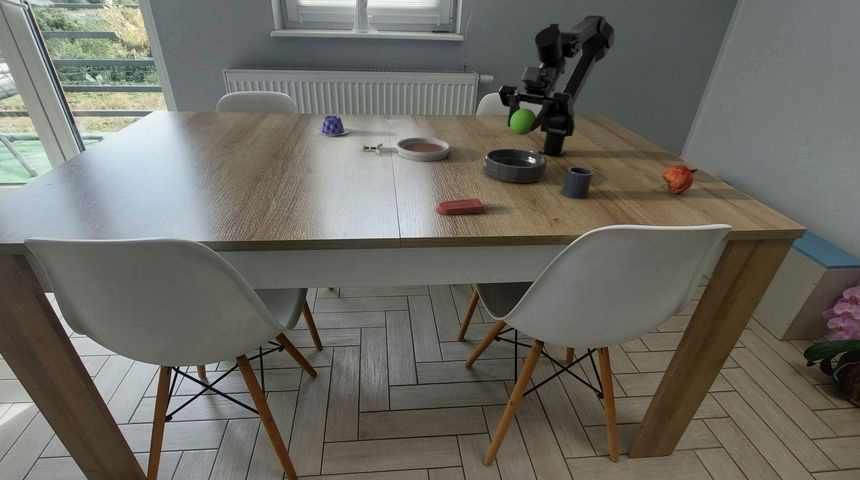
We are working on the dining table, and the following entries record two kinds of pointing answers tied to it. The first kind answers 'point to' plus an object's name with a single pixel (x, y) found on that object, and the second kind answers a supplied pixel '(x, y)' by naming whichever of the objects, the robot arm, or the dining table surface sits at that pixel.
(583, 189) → the stand cup
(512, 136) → the dining table surface
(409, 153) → the frying pan
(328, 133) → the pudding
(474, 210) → the popsicle
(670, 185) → the red rounded piece
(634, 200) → the dining table surface
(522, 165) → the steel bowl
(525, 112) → the ball
